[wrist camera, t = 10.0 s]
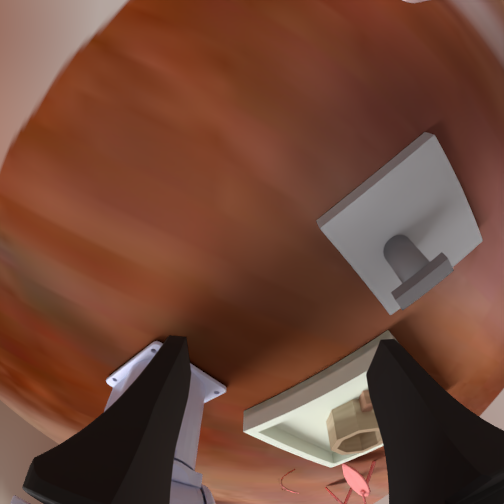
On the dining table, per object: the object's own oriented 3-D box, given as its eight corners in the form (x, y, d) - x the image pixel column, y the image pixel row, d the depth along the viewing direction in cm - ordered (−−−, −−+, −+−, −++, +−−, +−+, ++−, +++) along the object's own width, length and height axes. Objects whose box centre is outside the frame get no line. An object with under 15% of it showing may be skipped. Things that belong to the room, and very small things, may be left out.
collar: (366, 430, 29) (372, 455, 26) (319, 434, 29) (323, 461, 26) (393, 387, 25) (403, 416, 22) (339, 392, 25) (346, 424, 22)
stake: (385, 305, 21) (410, 355, 17) (316, 220, 18) (335, 264, 14) (474, 233, 18) (515, 269, 14) (424, 131, 15) (476, 148, 11)
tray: (328, 452, 33) (330, 467, 31) (243, 411, 28) (243, 431, 25) (439, 395, 28) (446, 411, 25) (388, 329, 22) (398, 351, 20)
